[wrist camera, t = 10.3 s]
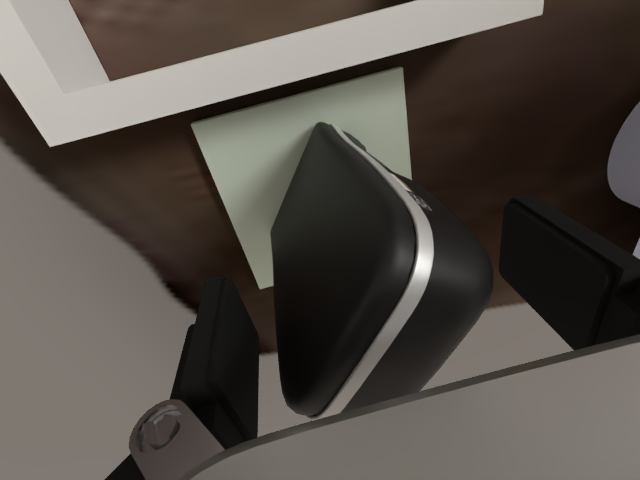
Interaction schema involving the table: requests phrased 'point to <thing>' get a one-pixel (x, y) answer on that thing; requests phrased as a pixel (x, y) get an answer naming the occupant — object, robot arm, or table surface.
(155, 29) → the table surface
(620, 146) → the wedge on round base
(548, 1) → the table surface
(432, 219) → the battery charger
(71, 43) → the white bent frame
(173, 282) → the table surface
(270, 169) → the pad
